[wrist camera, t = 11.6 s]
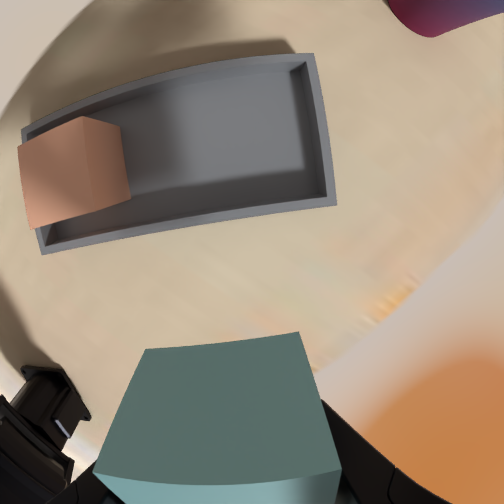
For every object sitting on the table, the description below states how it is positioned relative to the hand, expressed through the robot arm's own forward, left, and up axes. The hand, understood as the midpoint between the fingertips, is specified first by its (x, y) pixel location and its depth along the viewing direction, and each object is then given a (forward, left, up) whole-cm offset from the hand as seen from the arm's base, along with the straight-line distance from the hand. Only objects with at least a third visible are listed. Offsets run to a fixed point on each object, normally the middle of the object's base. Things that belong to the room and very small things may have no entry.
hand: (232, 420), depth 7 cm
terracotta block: (-8, +8, -10) cm, 15 cm away
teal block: (0, 0, -1) cm, 1 cm away
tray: (-3, +8, -11) cm, 14 cm away
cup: (+16, +18, -11) cm, 27 cm away
